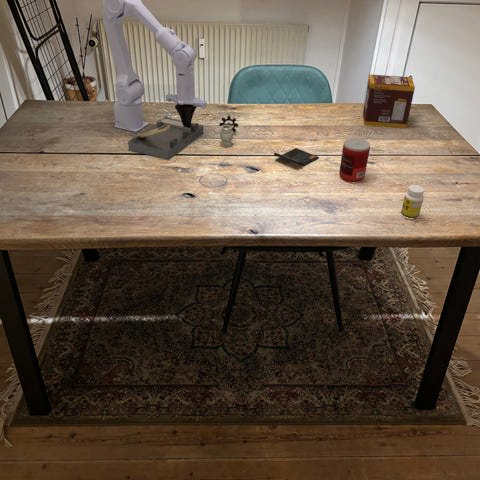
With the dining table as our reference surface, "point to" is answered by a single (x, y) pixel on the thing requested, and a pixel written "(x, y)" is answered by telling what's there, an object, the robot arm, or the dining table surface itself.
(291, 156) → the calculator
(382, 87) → the supplement box
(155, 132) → the brass strap
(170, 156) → the grey flat block
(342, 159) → the canned food
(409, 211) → the supplement bottle
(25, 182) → the dining table surface
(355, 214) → the dining table surface
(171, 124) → the steel strap
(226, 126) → the valve
